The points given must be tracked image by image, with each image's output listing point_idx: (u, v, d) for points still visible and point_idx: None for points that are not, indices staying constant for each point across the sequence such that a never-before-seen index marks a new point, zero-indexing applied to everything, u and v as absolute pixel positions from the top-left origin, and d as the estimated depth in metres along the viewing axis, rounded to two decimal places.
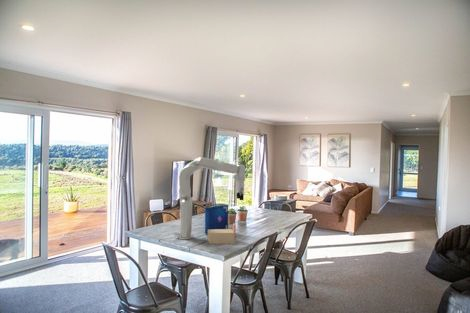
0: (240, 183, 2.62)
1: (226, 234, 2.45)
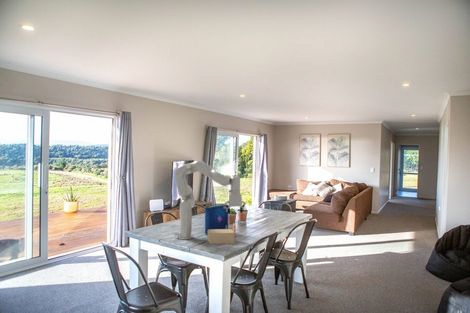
0: None
1: (226, 234, 2.45)
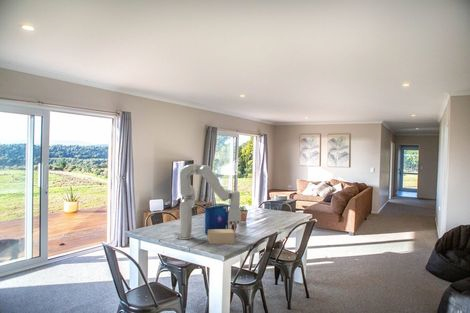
0: (240, 210, 2.52)
1: (226, 234, 2.45)
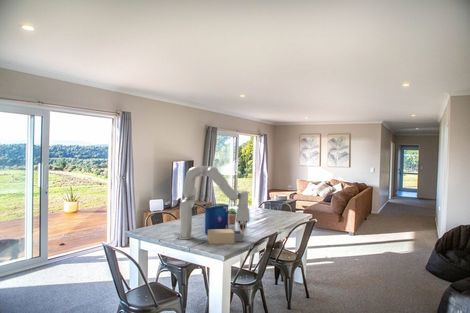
0: (248, 210, 2.54)
1: (226, 234, 2.45)
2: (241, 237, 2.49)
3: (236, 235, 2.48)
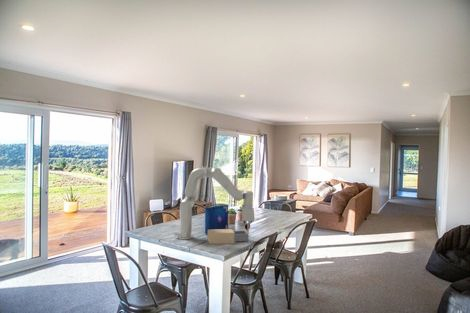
0: (253, 210, 2.54)
1: (226, 234, 2.45)
2: (246, 237, 2.49)
3: (241, 235, 2.49)
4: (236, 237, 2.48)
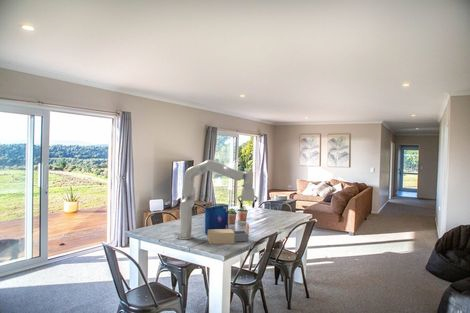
0: (253, 190, 2.55)
1: (226, 234, 2.45)
2: (246, 237, 2.50)
3: (241, 235, 2.49)
4: (236, 237, 2.48)
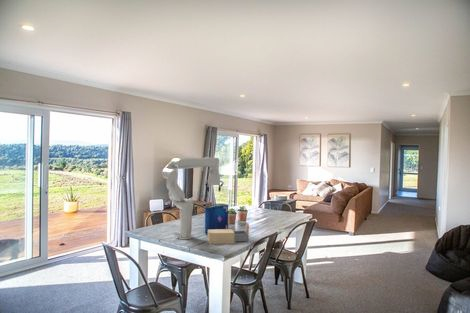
0: (219, 175, 2.74)
1: (226, 234, 2.45)
2: (246, 237, 2.50)
3: (241, 235, 2.49)
4: (236, 237, 2.48)
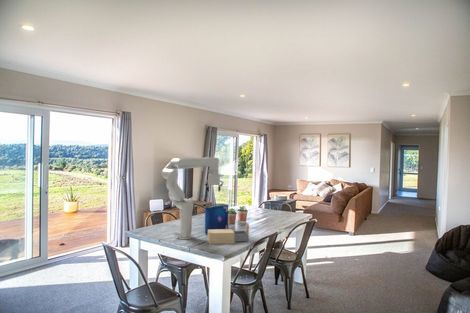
0: None
1: (226, 234, 2.45)
2: (246, 237, 2.50)
3: (241, 235, 2.49)
4: (236, 237, 2.48)
